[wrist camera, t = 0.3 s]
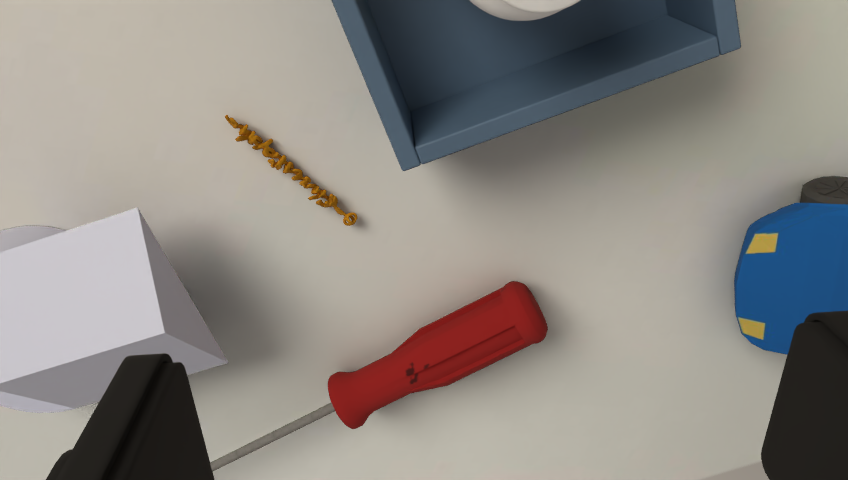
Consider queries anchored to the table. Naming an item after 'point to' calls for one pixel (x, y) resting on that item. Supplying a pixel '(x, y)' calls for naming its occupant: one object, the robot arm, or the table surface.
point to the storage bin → (516, 62)
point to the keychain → (289, 169)
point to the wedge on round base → (89, 311)
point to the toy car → (794, 265)
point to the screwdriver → (427, 360)
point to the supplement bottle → (522, 8)
